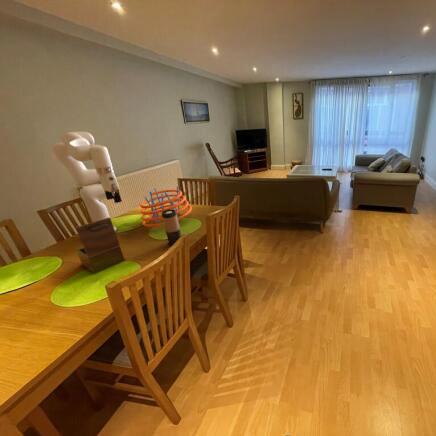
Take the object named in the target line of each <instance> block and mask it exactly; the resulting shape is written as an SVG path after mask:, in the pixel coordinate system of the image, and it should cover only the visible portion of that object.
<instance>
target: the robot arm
mask: <svg viewBox="0 0 436 436" xmlns="http://www.w3.org/2000/svg"><path fill="white" fill-rule="evenodd" d="M60 140H61V142H57V143H55V144H52V147H51V149H52V152H53V154H54V156H55V158H56V159H57V160H58V161H59V162H60V163H61V164H62V165H63V166H64V167H65V168H66V169H67V170H68V172H69V174H70V175H71V177H72V179H73V180H74V182H75V184H77V185H78V186H79V187H82V188H80V189H79V192H78V193H79V196H80V198H81V199H82V201H83V203H84V204H85V206H86V209H87V211H88V215H89V217H90V220H91V223H92V222H96V221H99V220H102V219H106V218H109V217H110V212H109V211H108V208H107V206H106V204H105V203H103V202H102V200H105V199H106V201H109V200H113V201H114V203H115V204H118V203H122V197H121V193H120V190H121V188H120V185H119V182H118V180H117V177H116V175H115V171H114V167H113V164H112V160H111V157H110V153H109V150H108V148H107V147H106V146H104V145H101V144H95V138H94V136H93V135H92V134H91V133H90V132H89V131H67V132H64V133H63V134H61V137H60ZM88 161H92V163H93V166H94V168H89V169H88V168H87V166H85V164H84V162H88ZM100 200H101V201H100ZM110 218H111V217H110ZM113 227H114V230H115V232H117V229H118V228H117V227H116V226H113Z"/></svg>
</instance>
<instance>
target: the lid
mask: <svg viewBox="0 0 436 436" xmlns="http://www.w3.org/2000/svg"><path fill="white" fill-rule="evenodd" d="M114 227H115V226H114V225H113V222H112V219H111V217H109V218H106V219H102V220H99V221H96V222H92V221H91V222H89V223H86V224H83V225H79V226H76V227H75V229H76V232H77V235H78V237H79V239H80V242H81V244H82V246H83V247H82V248H84V249H85V251H86V254H87V256H88V257H91V256H94V255H96V254H99V253H101V252H104V251H106V250H109V249H112V248H114V247H117V246H121V245H120V241H119V238H118V236H117V233H116V231H115V230H114Z"/></svg>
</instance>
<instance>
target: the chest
mask: <svg viewBox="0 0 436 436" xmlns="http://www.w3.org/2000/svg"><path fill="white" fill-rule="evenodd" d="M75 251H76V253H77V255H78V258H79V260H80V262H81V265H82V266H83V267H85V268H86V269H87V270H89V271H91V272H92V273H93V274H97V273H99V272H101V271H104V270H106V269H108V268H111V267H113V266H115V265H117V264H120V263H122V262H124V261H125V257H124V254H123V252H122V251H123V250H122V249H121V245H119V246H117V247H114V248H112V249H109V250H106V251H104V252H101V253H99V254H96V255H94V256H91V257H88V256H87V254H86V251H85V249H84V247H82V248H79V249H76V250H75Z"/></svg>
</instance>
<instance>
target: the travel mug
mask: <svg viewBox="0 0 436 436" xmlns="http://www.w3.org/2000/svg"><path fill="white" fill-rule="evenodd" d="M177 214H178V213H177ZM177 214H176V209H174V210H173V209H170V210H165V211H163V212H161V216H162V218H163V219H162V223H164V225H163V226H164V230H165V234H166V237H167V241H168V244H169V245H170V246H174V245H173V244H174V243H175V242H176V241H177V240H178V239H179V238H180V237H181V238H182V234H181V233H182V232H181V228H180V224H179V221H178V219H177V217H178V215H177Z"/></svg>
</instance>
